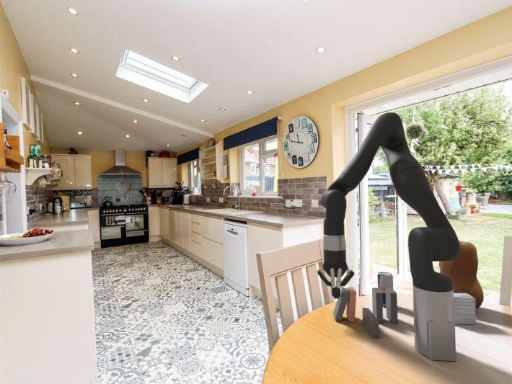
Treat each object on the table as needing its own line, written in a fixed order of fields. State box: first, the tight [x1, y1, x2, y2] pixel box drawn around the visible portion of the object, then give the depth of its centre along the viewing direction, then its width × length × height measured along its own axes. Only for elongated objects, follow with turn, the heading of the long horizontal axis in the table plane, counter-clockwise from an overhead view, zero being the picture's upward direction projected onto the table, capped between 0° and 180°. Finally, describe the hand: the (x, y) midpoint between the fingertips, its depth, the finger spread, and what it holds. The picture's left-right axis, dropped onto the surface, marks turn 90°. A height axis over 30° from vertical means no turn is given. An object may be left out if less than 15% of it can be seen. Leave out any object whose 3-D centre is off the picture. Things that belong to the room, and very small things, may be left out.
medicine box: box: [453, 293, 477, 325], centre depth 91 cm, size 8×4×9 cm, turn 84°
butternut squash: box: [438, 239, 485, 310], centre depth 101 cm, size 14×13×25 cm
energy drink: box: [376, 271, 394, 308], centre depth 106 cm, size 5×5×12 cm
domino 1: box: [332, 286, 350, 322], centre depth 96 cm, size 5×2×10 cm, turn 172°
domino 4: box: [371, 287, 384, 324], centre depth 94 cm, size 5×2×10 cm, turn 172°
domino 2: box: [345, 286, 357, 323], centre depth 95 cm, size 5×2×10 cm, turn 172°
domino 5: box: [385, 288, 399, 325], centre depth 93 cm, size 5×2×10 cm, turn 172°
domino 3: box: [361, 307, 380, 339], centre depth 87 cm, size 5×2×10 cm
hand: (336, 297), depth 96 cm, fingers closed
